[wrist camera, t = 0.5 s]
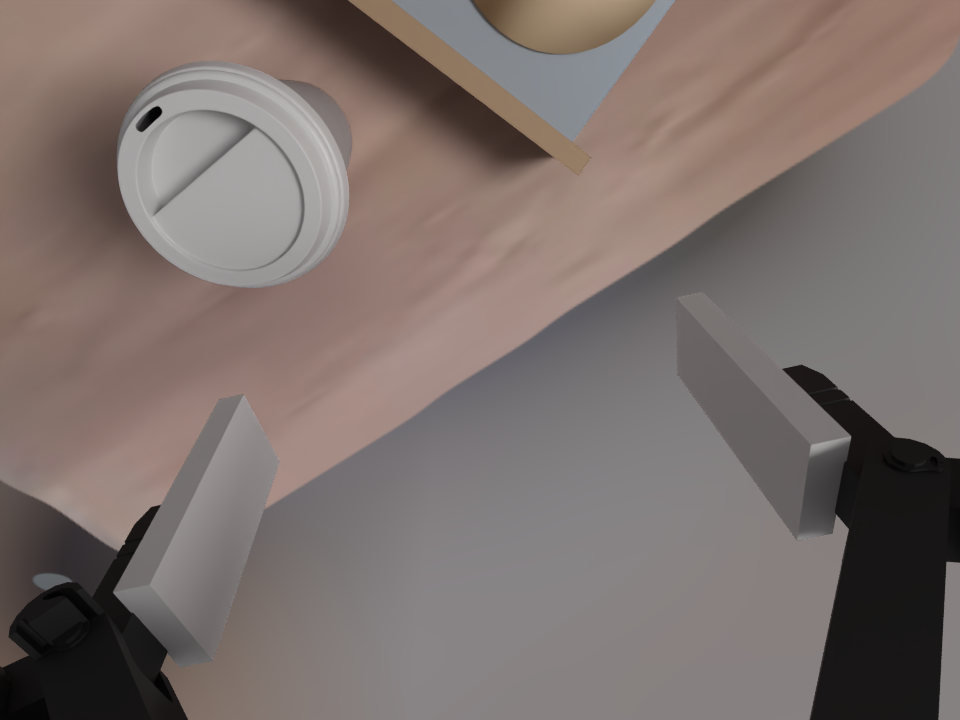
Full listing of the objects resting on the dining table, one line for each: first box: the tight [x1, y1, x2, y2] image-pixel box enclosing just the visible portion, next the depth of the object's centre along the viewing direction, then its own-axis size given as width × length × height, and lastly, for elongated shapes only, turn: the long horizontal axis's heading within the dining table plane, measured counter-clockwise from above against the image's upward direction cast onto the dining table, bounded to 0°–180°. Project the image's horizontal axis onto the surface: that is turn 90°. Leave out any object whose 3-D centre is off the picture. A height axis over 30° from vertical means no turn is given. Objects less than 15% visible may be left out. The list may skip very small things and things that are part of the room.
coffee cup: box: [117, 61, 352, 288], centre depth 29 cm, size 10×10×15 cm
